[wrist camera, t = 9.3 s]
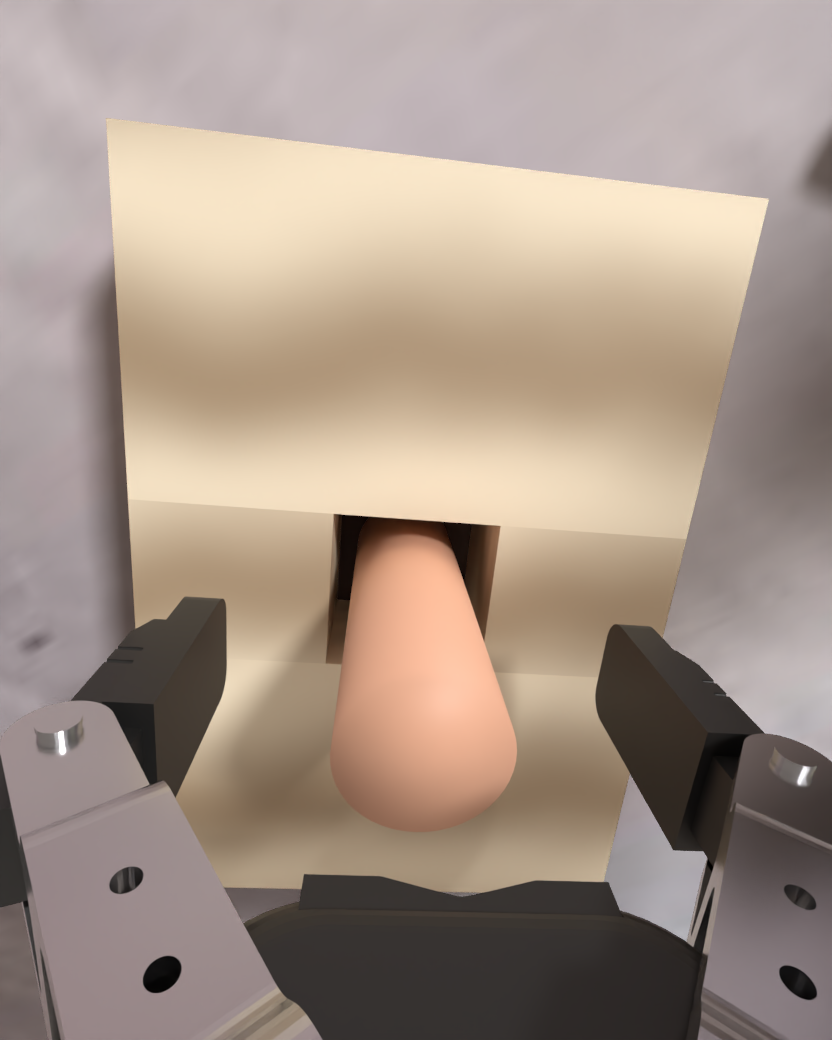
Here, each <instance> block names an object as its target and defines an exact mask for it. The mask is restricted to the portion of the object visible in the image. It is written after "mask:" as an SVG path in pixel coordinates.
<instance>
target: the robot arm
mask: <svg viewBox="0 0 832 1040" xmlns="http://www.w3.org/2000/svg"><path fill="white" fill-rule="evenodd" d="M226 671H227V618H226V603H225V600H224V599H220V598H204V597H188V596H185V597H184V598H183V599H182V600H181V601H180V603H179V604H178V605H177V606H176V608H175V609H174V610H173V612H172V613H171V614H170V615H169V617H168V618H167V619H166V620H165V619H153V620H151V621H149V622H147V623H145V624H144V625H142V626H140V627H138V628H136V629H135V630H133V631H131V632H130V634H129V635H128V636H127V637H126V638H125V639H124V640H123V642H122V643H121V644H120V645H119V646H118V649H116V650H115V651H114V652H113V653H112V654H111V655H110V656H109V658H108V659H107V662H104V663H103V664H102V666H101V667H100V668H99V669H98V670H97V671H96V672H95V674H94V675H93V676H92V677H91V678H90V679H89V680H88V682H87V683H86V684H85V685H84V686H83V687H82V688H81V690H80V691H79V692H78V693H77V694H76V695H75V696H74V698H73V699H72V700H71V701H68V702H61V703H57V704H52V705H49V706H46V707H43V708H40V709H38V710H35V711H33V712H31V713H29V714H27V715H25V716H23V717H22V718H20V719H19V720H17V721H16V722H14V723H13V724H12V725H11V726H10V727H9V728H8V729H7V730H6V731H5V732H4V734H3V735H2V737H1V739H0V907H4V906H8V905H12V904H16V903H20V902H22V908H23V913H24V918H25V923H26V928H27V933H28V938H29V944H30V949H31V954H32V959H33V964H34V969H35V974H36V979H37V985H38V990H39V995H40V1000H41V1005H42V1010H43V1015H44V1021H45V1026H46V1032H47V1038H48V1040H832V762H831V761H830V760H829V759H828V758H826V757H825V756H823V755H822V754H821V753H819V752H817V751H816V750H814V749H812V748H810V747H808V746H806V745H804V744H802V743H800V742H797V741H795V740H792V739H789V738H786V737H782V736H778V735H773V734H765V733H764V732H763V731H762V730H761V729H760V728H759V727H758V726H757V725H756V724H755V723H754V722H753V721H752V720H751V719H750V718H749V717H748V716H747V715H746V714H745V712H744V711H743V710H742V709H741V708H740V707H739V706H738V705H737V704H736V703H735V702H734V701H733V700H732V699H731V698H730V697H726V693H725V692H724V691H723V690H722V689H721V688H720V687H719V686H718V685H717V684H715V683H714V682H713V681H714V680H713V679H712V678H711V677H710V676H709V675H708V674H707V673H706V672H705V671H704V670H703V669H702V668H701V667H700V666H699V665H698V664H696V663H695V662H693V661H692V660H690V659H688V658H687V657H685V656H684V655H682V654H680V653H679V652H677V651H674V650H673V649H672V648H671V647H670V646H669V645H668V643H667V642H666V641H665V640H664V639H663V638H662V637H661V636H660V635H659V634H658V633H657V632H656V631H655V630H654V629H653V628H652V627H650V626H638V625H622V624H614V625H613V626H612V627H611V628H610V630H609V632H608V635H607V640H606V644H605V649H604V653H603V658H602V663H601V667H600V672H599V677H598V681H597V686H596V693H595V702H596V709H597V714H598V717H599V719H600V721H601V723H602V725H603V726H604V728H605V730H606V732H607V733H608V735H609V737H610V739H611V740H612V742H613V744H614V746H615V748H616V749H617V751H618V753H619V755H620V756H621V758H622V760H623V762H624V763H625V765H626V767H627V769H628V771H629V772H630V774H631V776H632V778H633V779H634V781H635V783H636V785H637V786H638V788H639V790H640V792H641V794H642V795H643V797H644V799H645V801H646V802H647V804H648V806H649V808H650V809H651V811H652V813H653V815H654V817H655V818H656V820H657V822H658V824H659V825H660V827H661V829H662V831H663V832H664V834H665V836H666V838H667V840H668V841H669V843H670V845H671V847H672V848H673V850H681V851H704V853H705V855H706V856H707V860H706V863H705V866H704V869H703V873H702V876H701V881H700V885H699V889H698V894H697V898H696V903H695V907H694V912H693V916H692V920H691V925H690V929H689V934H688V938H687V942H686V941H684V940H683V939H681V938H679V937H678V936H676V935H674V934H673V933H671V932H669V931H668V930H666V929H664V928H662V927H660V926H658V925H656V924H654V923H652V922H650V921H648V920H645V919H643V918H640V917H637V916H635V915H632V914H629V913H626V912H623V911H620V910H619V907H618V905H617V902H616V900H615V898H614V895H613V893H612V890H611V888H610V885H609V883H608V882H581V881H544V880H535V881H531V882H526V883H522V884H518V885H514V886H510V887H505V888H501V889H497V890H493V891H488V892H484V893H480V894H476V895H472V896H466V897H459V896H453V895H450V894H446V893H442V892H438V891H435V890H431V889H427V888H423V887H420V886H416V885H412V884H408V883H405V882H401V881H397V880H393V879H390V878H386V877H382V876H356V875H319V874H304V876H303V883H302V889H301V896H300V902H297V903H293V904H289V905H285V906H282V907H279V908H276V909H273V910H271V911H268V912H265V913H263V914H261V915H259V916H257V917H255V918H253V919H251V920H249V921H247V922H245V923H243V922H242V921H241V919H240V917H239V915H238V913H237V911H236V909H235V908H234V906H233V904H232V902H231V900H230V898H229V896H228V895H227V893H226V891H225V889H224V887H223V885H222V883H221V882H220V880H219V878H218V876H217V874H216V872H215V871H214V869H213V867H212V865H211V863H210V861H209V859H208V858H207V856H206V854H205V852H204V850H203V848H202V846H201V845H200V843H199V841H198V839H197V837H196V835H195V833H194V832H193V830H192V828H191V826H190V824H189V822H188V821H187V819H186V817H185V815H184V813H183V811H182V809H181V808H180V806H179V804H178V802H177V800H176V796H177V794H178V792H179V789H180V787H181V785H182V783H183V781H184V779H185V776H186V774H187V772H188V770H189V768H190V766H191V763H192V761H193V759H194V757H195V755H196V752H197V750H198V748H199V746H200V744H201V742H202V739H203V737H204V735H205V733H206V731H207V729H208V726H209V724H210V722H211V720H212V718H213V715H214V713H215V711H216V709H217V707H218V705H219V702H220V700H221V698H222V695H223V691H224V686H225V681H226Z"/></svg>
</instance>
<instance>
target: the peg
mask: <svg viewBox="0 0 832 1040" xmlns="http://www.w3.org/2000/svg"><path fill="white" fill-rule="evenodd" d="M516 757H517V743H516V737H515V733H514V729H513V726H512V723H511V720H510V717H509V714H508V711H507V708H506V705H505V702H504V699H503V696H502V694H501V691H500V688H499V685H498V682H497V679H496V676H495V673H494V670H493V667H492V664H491V661H490V658H489V655H488V652H487V649H486V646H485V643H484V640H483V637H482V634H481V631H480V628H479V625H478V622H477V619H476V616H475V613H474V610H473V607H472V604H471V601H470V598H469V596H468V593H467V590H466V587H465V584H464V581H463V578H462V575H461V572H460V569H459V566H458V563H457V560H456V557H455V554H454V551H453V548H452V545H451V542H450V539H449V536H448V533H447V531H446V528H445V526H444V524H443V522H440V521H426V520H412V519H398V518H384V517H369V518H368V519H367V520H366V522H365V523H364V525H363V526H362V529H361V531H360V534H359V538H358V545H357V552H356V560H355V568H354V575H353V583H352V590H351V598H350V606H349V613H348V621H347V628H346V636H345V644H344V651H343V659H342V666H341V674H340V682H339V689H338V697H337V704H336V712H335V720H334V727H333V735H332V742H331V750H330V766H331V772H332V776H333V779H334V781H335V784H336V786H337V788H338V790H339V792H340V794H341V795H342V796H343V798H344V799H345V800H346V802H347V803H348V804H349V805H350V806H351V807H352V808H353V809H354V810H356V811H357V812H358V813H360V814H361V815H362V816H364V817H365V818H367V819H369V820H371V821H372V822H375V823H377V824H379V825H381V826H384V827H388V828H391V829H395V830H400V831H407V832H430V831H438V830H443V829H447V828H451V827H454V826H457V825H460V824H462V823H464V822H466V821H468V820H471V819H472V818H474V817H476V816H477V815H479V814H481V813H482V812H483V811H485V810H486V809H487V808H488V807H490V806H491V805H492V804H493V803H494V802H495V801H496V800H497V799H498V798H499V796H500V795H501V794H502V792H503V791H504V790H505V788H506V786H507V785H508V783H509V781H510V779H511V776H512V774H513V771H514V768H515V764H516Z"/></svg>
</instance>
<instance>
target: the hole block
mask: <svg viewBox="0 0 832 1040" xmlns="http://www.w3.org/2000/svg"><path fill="white" fill-rule="evenodd" d="M106 126H107V143H108V161H109V178H110V195H111V213H112V230H113V248H114V265H115V282H116V300H117V317H118V335H119V352H120V369H121V387H122V404H123V422H124V439H125V456H126V474H127V491H128V509H129V526H130V543H131V561H132V578H133V596H134V613H135V629H136V628H138V627H140V626H142V625H144V624H145V623H147V622H149V621H151V620H153V619H165V620H166V619H167V618H168V617H169V615H170V614H171V613H172V612H173V610H174V609H175V608H176V606H177V605H178V604H179V603H180V601H181V600H182V599H183V598H184V597H185V596H188V597H204V598H220V599H224V600H225V603H226V618H227V671H226V681H225V686H224V691H223V695H222V698H221V700H220V702H219V705H218V707H217V709H216V711H215V713H214V715H213V718H212V720H211V722H210V724H209V726H208V729H207V731H206V733H205V735H204V737H203V739H202V742H201V744H200V746H199V748H198V750H197V752H196V755H195V757H194V759H193V761H192V763H191V766H190V768H189V770H188V772H187V774H186V776H185V779H184V781H183V783H182V785H181V787H180V789H179V792H178V794H177V796H176V800H177V802H178V804H179V806H180V808H181V809H182V811H183V813H184V815H185V817H186V819H187V821H188V822H189V824H190V826H191V828H192V830H193V832H194V833H195V835H196V837H197V839H198V841H199V843H200V845H201V846H202V848H203V850H204V852H205V854H206V856H207V858H208V859H209V861H210V863H211V865H212V867H213V869H214V871H215V872H216V874H217V876H218V878H219V880H220V882H221V883H222V885H223V887H224V888H275V889H302V883H303V876H304V874H319V875H356V876H382V877H386V878H390V879H393V880H397V881H401V882H405V883H408V884H412V885H416V886H420V887H423V888H427V889H431V890H435V891H438V892H477V893H484V892H488V891H493V890H497V889H501V888H505V887H510V886H514V885H518V884H522V883H526V882H531V881H535V880H544V881H581V882H604V878H605V873H606V869H607V865H608V861H609V857H610V853H611V849H612V845H613V840H614V836H615V832H616V828H617V824H618V820H619V816H620V812H621V807H622V803H623V799H624V795H625V791H626V787H627V783H628V779H629V774H630V772H629V771H628V769H627V767H626V765H625V763H624V762H623V760H622V758H621V756H620V755H619V753H618V751H617V749H616V748H615V746H614V744H613V742H612V740H611V739H610V737H609V735H608V733H607V732H606V730H605V728H604V726H603V725H602V723H601V721H600V719H599V717H598V714H597V709H596V702H595V693H596V686H597V681H598V677H599V672H600V667H601V663H602V658H603V653H604V649H605V644H606V640H607V635H608V632H609V630H610V628H611V627H612V626H613V625H614V624H622V625H638V626H650V627H652V628H653V629H654V630H655V631H656V632H657V633H658V634H659V635H660V636H661V637H662V638H663V634H664V630H665V626H666V622H667V618H668V613H669V609H670V605H671V601H672V597H673V593H674V589H675V584H676V580H677V576H678V572H679V568H680V564H681V560H682V556H683V551H684V547H685V543H686V539H687V535H688V531H689V527H690V523H691V518H692V514H693V510H694V506H695V502H696V498H697V494H698V490H699V485H700V481H701V477H702V473H703V469H704V465H705V461H706V457H707V452H708V448H709V444H710V440H711V436H712V432H713V428H714V423H715V419H716V415H717V411H718V407H719V403H720V399H721V395H722V390H723V386H724V382H725V378H726V374H727V370H728V366H729V362H730V357H731V353H732V349H733V345H734V341H735V337H736V333H737V329H738V324H739V320H740V316H741V312H742V308H743V304H744V300H745V296H746V291H747V287H748V283H749V279H750V275H751V271H752V267H753V262H754V258H755V254H756V250H757V246H758V242H759V238H760V234H761V229H762V225H763V221H764V217H765V213H766V209H767V205H768V201H769V199H765V198H757V197H748V196H740V195H732V194H724V193H716V192H707V191H699V190H691V189H683V188H675V187H666V186H658V185H650V184H642V183H634V182H626V181H617V180H609V179H601V178H593V177H585V176H576V175H568V174H560V173H552V172H544V171H535V170H527V169H519V168H511V167H503V166H494V165H486V164H478V163H470V162H462V161H454V160H445V159H437V158H429V157H421V156H413V155H404V154H396V153H388V152H380V151H372V150H363V149H355V148H347V147H339V146H331V145H323V144H314V143H306V142H298V141H290V140H282V139H273V138H265V137H257V136H249V135H241V134H232V133H224V132H216V131H208V130H200V129H191V128H183V127H175V126H167V125H159V124H151V123H142V122H134V121H126V120H118V119H110V118H106ZM342 515H356V516H370V517H384V518H398V519H412V520H426V521H440V522H454V523H468V524H472V525H471V533H470V541H469V549H468V557H467V565H466V573H465V581H464V584H465V587H466V590H467V593H468V596H469V598H470V601H471V604H472V607H473V610H474V613H475V616H476V619H477V622H478V625H479V628H480V631H481V634H482V637H483V640H484V643H485V646H486V649H487V652H488V655H489V658H490V661H491V664H492V667H493V670H494V673H495V676H496V679H497V682H498V685H499V688H500V691H501V694H502V696H503V699H504V702H505V705H506V708H507V711H508V714H509V717H510V720H511V723H512V726H513V729H514V733H515V737H516V743H517V757H516V764H515V768H514V771H513V774H512V776H511V779H510V781H509V783H508V785H507V786H506V788H505V790H504V791H503V792H502V794H501V795H500V796H499V798H498V799H497V800H496V801H495V802H494V803H493V804H492V805H491V806H490V807H488V808H487V809H486V810H485V811H483V812H482V813H481V814H479V815H477V816H476V817H474V818H472V819H471V820H468V821H466V822H464V823H462V824H460V825H457V826H454V827H451V828H447V829H443V830H438V831H430V832H407V831H400V830H395V829H391V828H388V827H384V826H381V825H379V824H377V823H375V822H372V821H371V820H369V819H367V818H365V817H364V816H362V815H361V814H360V813H358V812H357V811H356V810H354V809H353V808H352V807H351V806H350V805H349V804H348V803H347V802H346V800H345V799H344V798H343V796H342V795H341V794H340V792H339V790H338V788H337V786H336V784H335V781H334V779H333V776H332V772H331V766H330V750H331V742H332V735H333V727H334V720H335V712H336V704H337V697H338V689H339V682H340V674H341V666H342V659H343V651H344V644H345V636H346V628H347V621H348V613H349V606H350V600H337V596H338V578H339V560H340V542H341V524H342Z"/></svg>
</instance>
